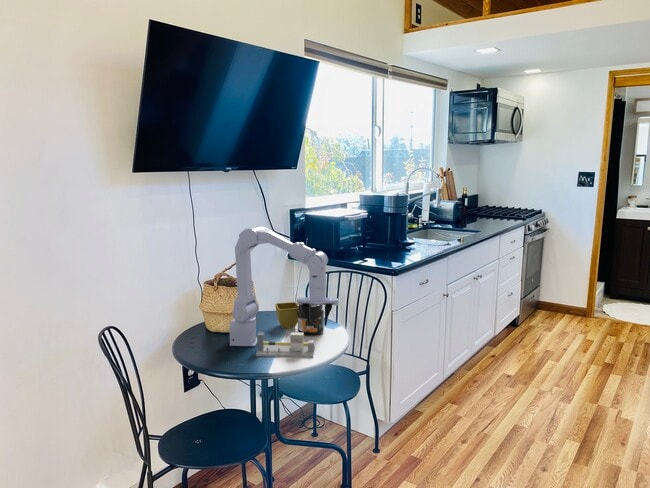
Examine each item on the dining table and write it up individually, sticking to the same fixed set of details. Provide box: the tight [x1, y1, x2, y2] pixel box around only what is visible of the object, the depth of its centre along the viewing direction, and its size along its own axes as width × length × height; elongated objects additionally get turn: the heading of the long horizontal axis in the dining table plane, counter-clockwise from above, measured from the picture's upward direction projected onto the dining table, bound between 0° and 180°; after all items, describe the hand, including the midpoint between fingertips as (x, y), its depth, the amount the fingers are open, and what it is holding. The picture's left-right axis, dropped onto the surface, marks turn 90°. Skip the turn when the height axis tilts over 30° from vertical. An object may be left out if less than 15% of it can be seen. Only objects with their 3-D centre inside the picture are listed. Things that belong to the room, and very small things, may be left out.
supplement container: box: [297, 304, 325, 337], centre depth 194 cm, size 10×10×12 cm
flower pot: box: [275, 301, 299, 329], centre depth 201 cm, size 9×9×9 cm
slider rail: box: [255, 331, 316, 358], centre depth 175 cm, size 20×9×6 cm, turn 87°
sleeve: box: [289, 331, 305, 351], centre depth 174 cm, size 4×3×6 cm
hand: (317, 324), depth 173 cm, fingers open, 5 cm apart
